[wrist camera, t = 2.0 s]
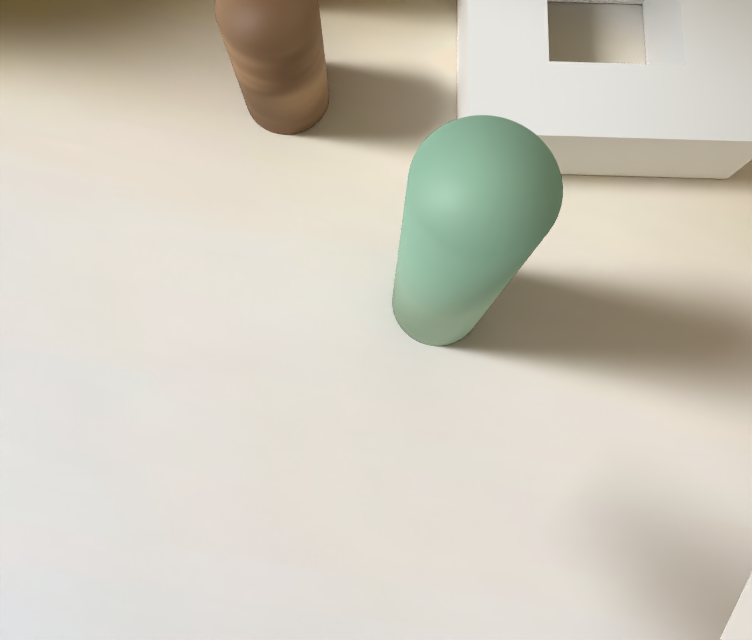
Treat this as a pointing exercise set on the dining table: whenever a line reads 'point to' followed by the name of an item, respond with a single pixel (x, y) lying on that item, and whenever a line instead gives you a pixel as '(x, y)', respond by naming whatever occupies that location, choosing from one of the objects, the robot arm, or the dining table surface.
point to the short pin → (277, 60)
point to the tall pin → (470, 222)
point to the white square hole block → (618, 87)
